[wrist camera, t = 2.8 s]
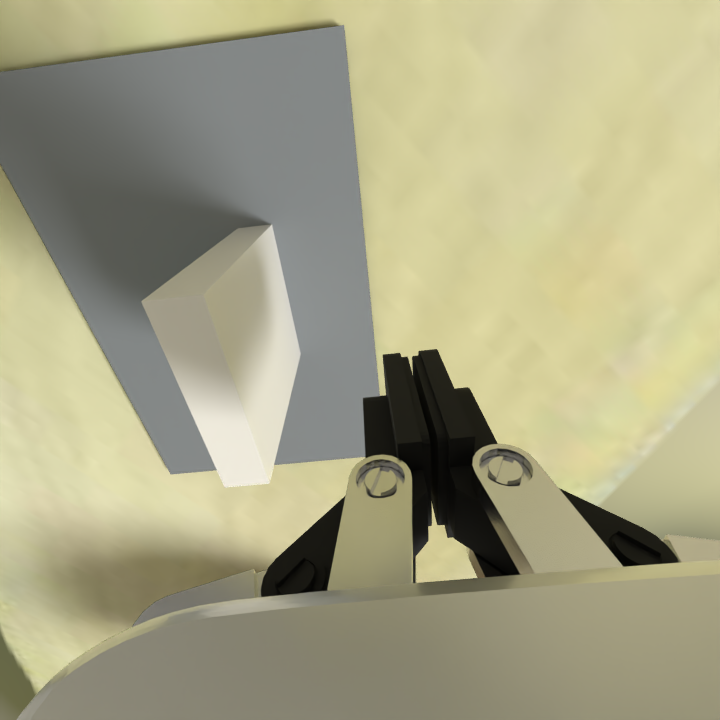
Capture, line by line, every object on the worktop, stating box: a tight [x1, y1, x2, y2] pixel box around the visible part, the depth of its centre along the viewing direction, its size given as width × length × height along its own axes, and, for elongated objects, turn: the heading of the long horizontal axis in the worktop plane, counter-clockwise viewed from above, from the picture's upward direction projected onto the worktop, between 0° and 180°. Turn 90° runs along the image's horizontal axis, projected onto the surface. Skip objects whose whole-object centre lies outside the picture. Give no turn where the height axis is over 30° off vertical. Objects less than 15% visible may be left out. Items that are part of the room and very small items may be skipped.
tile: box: [141, 224, 301, 487], centre depth 15 cm, size 7×2×9 cm, turn 6°
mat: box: [0, 25, 380, 474], centre depth 19 cm, size 22×15×1 cm
